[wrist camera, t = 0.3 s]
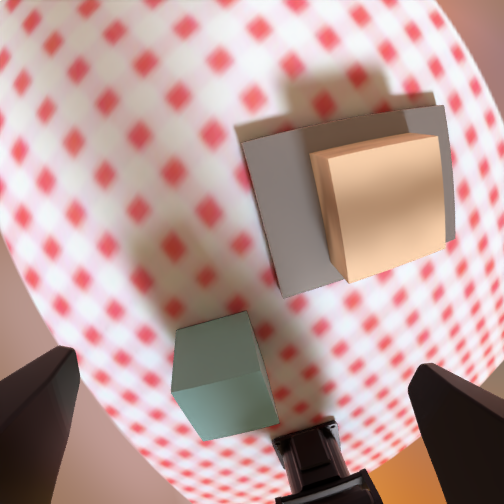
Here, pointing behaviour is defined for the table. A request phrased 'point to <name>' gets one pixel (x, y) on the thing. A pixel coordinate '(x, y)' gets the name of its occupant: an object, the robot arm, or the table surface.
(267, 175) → the baseplate
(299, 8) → the table surface
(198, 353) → the teal block
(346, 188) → the maple base block
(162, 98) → the table surface
